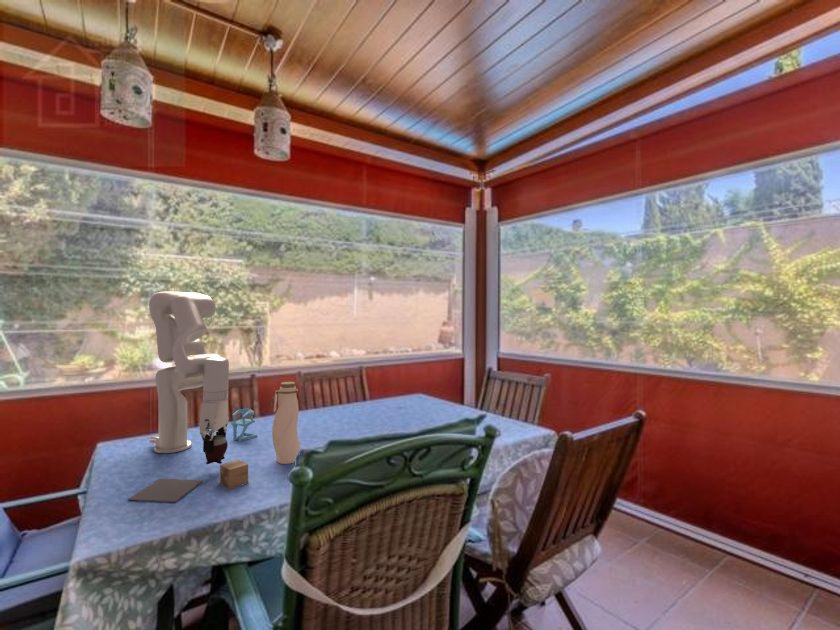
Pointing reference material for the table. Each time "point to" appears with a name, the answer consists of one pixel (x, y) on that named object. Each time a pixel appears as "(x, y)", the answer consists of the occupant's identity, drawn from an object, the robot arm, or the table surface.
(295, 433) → the water bottle
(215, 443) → the mate gourd
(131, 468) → the table surface
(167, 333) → the robot arm
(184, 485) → the rubber mat
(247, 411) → the chair
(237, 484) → the brown cube
